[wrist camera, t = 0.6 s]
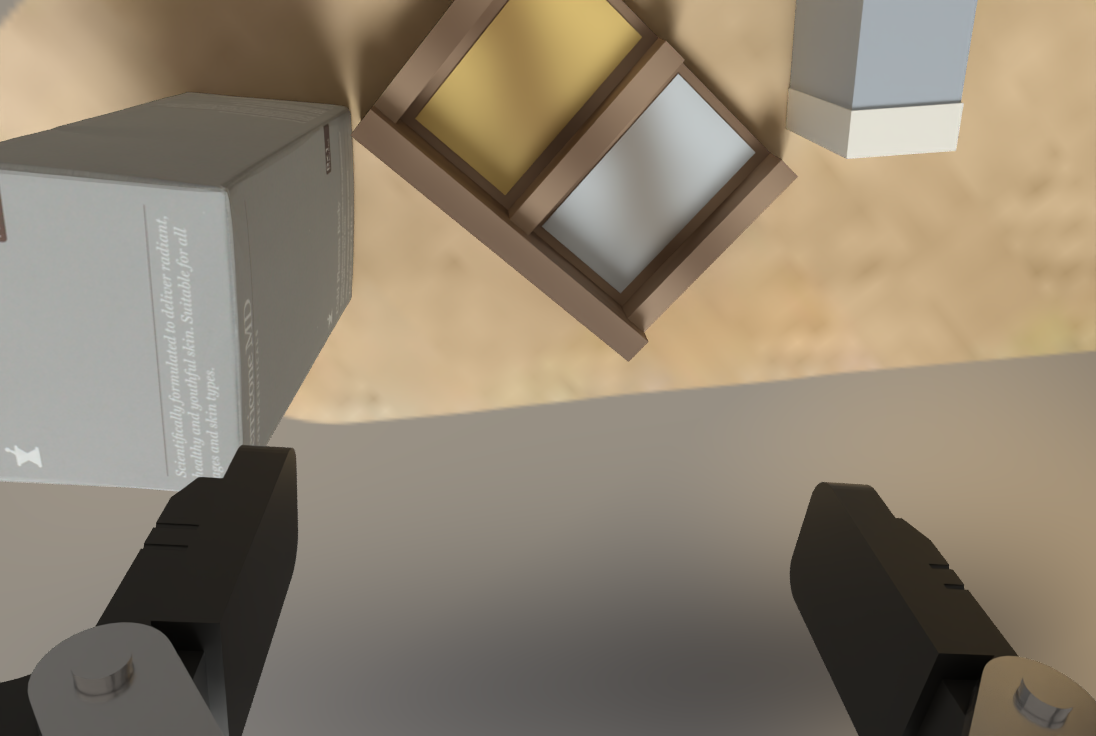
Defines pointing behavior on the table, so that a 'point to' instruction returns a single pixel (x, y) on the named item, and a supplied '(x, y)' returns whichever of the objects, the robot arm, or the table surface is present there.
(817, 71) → the plug
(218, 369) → the skincare box
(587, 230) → the brown divided tray
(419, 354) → the table surface
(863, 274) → the table surface
